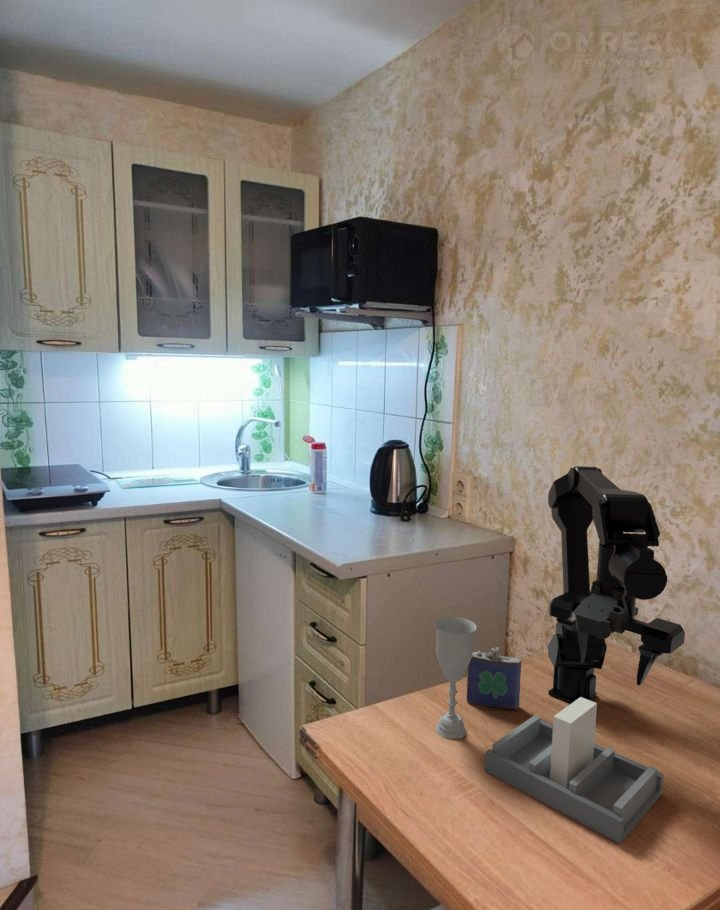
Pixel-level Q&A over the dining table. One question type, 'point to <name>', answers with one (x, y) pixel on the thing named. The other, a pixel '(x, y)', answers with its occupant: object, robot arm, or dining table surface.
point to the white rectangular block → (572, 740)
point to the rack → (577, 780)
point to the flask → (494, 681)
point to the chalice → (453, 666)
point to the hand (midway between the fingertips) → (609, 673)
